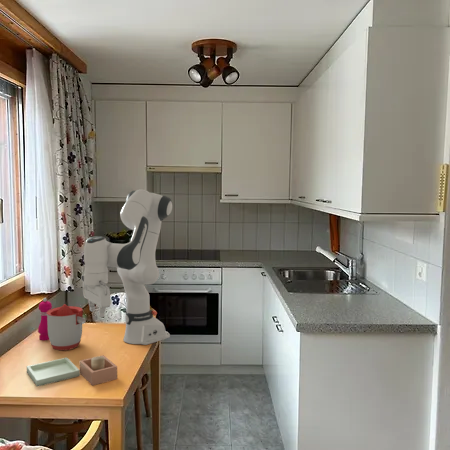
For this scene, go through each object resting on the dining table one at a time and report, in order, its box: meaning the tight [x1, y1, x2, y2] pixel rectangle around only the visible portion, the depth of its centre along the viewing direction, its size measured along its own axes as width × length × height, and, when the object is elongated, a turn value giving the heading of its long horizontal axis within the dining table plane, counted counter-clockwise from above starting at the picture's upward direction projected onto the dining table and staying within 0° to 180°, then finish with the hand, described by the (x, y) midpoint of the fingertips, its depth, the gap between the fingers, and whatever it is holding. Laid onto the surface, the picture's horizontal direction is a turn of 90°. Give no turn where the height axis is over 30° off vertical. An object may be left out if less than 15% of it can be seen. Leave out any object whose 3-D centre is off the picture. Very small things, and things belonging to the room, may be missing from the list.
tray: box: [26, 357, 81, 387], centre depth 180 cm, size 16×16×2 cm
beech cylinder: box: [91, 355, 105, 371], centre depth 178 cm, size 5×5×7 cm
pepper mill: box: [37, 297, 53, 342], centre depth 219 cm, size 7×7×20 cm
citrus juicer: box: [47, 303, 87, 351], centre depth 209 cm, size 16×17×20 cm
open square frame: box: [78, 355, 118, 386], centre depth 178 cm, size 10×14×5 cm
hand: (96, 313), depth 176 cm, fingers open, 8 cm apart
